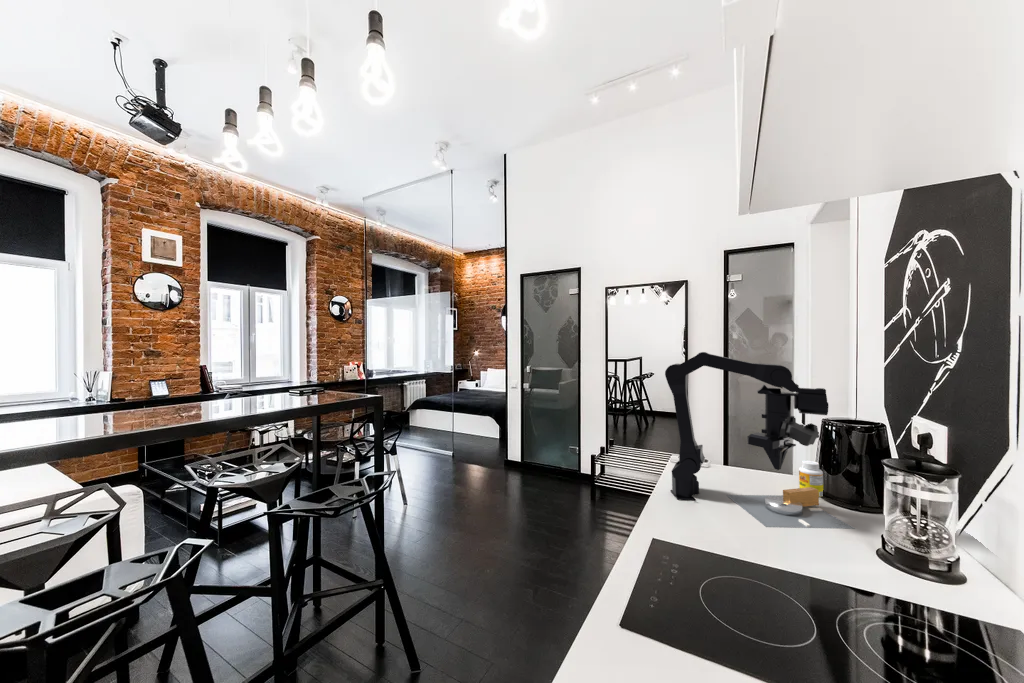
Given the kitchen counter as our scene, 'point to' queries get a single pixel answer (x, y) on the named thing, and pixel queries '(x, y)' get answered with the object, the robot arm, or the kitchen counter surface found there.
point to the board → (808, 519)
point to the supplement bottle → (811, 476)
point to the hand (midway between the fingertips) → (777, 469)
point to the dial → (792, 501)
